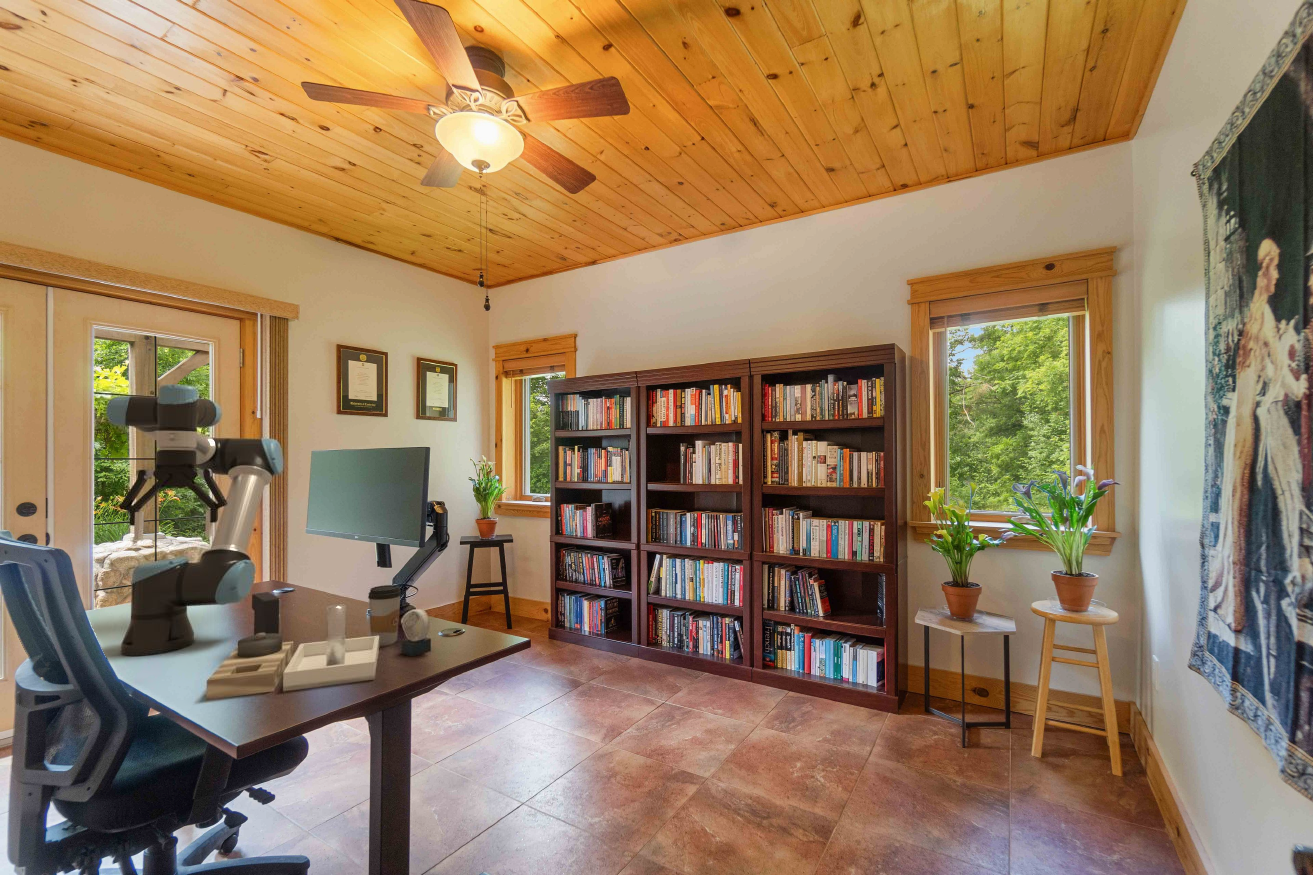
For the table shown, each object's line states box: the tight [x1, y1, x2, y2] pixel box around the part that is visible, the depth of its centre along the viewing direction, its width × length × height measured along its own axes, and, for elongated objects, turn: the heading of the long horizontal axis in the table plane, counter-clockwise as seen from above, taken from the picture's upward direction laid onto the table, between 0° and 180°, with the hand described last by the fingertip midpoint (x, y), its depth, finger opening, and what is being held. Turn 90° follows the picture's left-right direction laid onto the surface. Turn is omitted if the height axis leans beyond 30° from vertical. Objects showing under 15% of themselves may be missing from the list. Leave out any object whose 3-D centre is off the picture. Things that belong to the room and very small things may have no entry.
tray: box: [282, 635, 380, 692], centre depth 143 cm, size 22×18×4 cm
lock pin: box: [326, 603, 347, 666], centre depth 143 cm, size 4×4×14 cm
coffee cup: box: [367, 584, 402, 647], centre depth 163 cm, size 8×8×15 cm
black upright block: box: [251, 591, 282, 636], centre depth 154 cm, size 11×4×15 cm, turn 47°
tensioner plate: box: [205, 633, 294, 701], centre depth 138 cm, size 24×12×8 cm, turn 23°
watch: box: [400, 608, 432, 658], centre depth 155 cm, size 6×8×11 cm
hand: (174, 538), depth 142 cm, fingers open, 13 cm apart
